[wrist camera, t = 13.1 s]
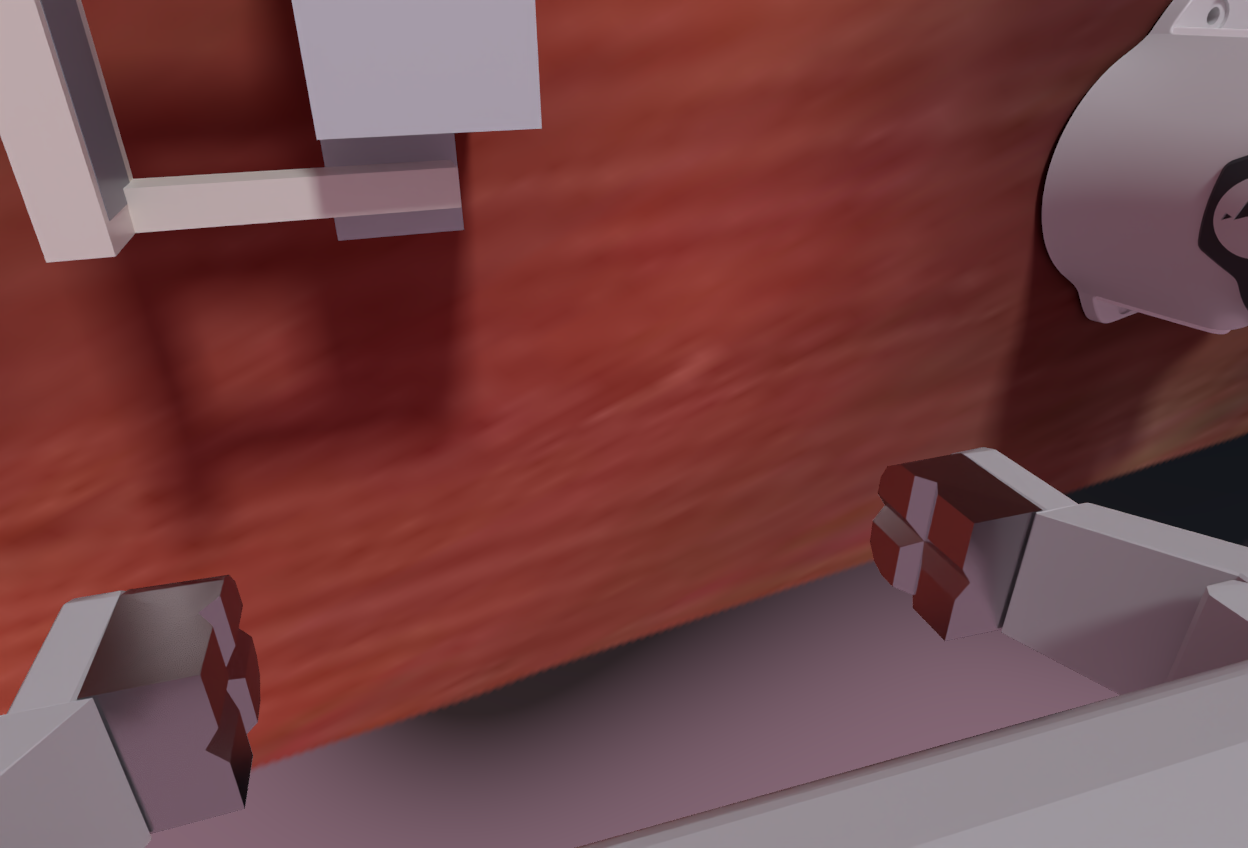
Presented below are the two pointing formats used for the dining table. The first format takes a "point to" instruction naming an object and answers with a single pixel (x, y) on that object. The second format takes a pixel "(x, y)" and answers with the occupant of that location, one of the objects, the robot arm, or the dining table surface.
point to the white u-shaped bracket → (121, 206)
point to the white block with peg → (414, 86)
